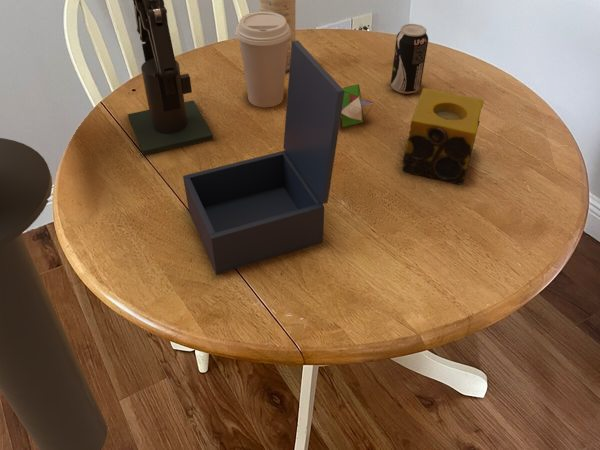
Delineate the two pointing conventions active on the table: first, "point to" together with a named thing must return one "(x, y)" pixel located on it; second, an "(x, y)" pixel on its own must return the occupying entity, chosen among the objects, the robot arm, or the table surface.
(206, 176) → the chest
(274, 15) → the coffee cup
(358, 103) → the geometric puzzle
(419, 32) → the beverage can
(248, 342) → the table surface
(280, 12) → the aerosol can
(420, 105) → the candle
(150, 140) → the trivet
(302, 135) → the chest lid
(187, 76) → the brown mug
